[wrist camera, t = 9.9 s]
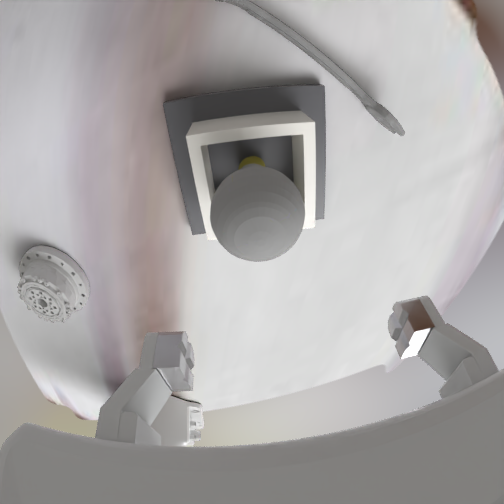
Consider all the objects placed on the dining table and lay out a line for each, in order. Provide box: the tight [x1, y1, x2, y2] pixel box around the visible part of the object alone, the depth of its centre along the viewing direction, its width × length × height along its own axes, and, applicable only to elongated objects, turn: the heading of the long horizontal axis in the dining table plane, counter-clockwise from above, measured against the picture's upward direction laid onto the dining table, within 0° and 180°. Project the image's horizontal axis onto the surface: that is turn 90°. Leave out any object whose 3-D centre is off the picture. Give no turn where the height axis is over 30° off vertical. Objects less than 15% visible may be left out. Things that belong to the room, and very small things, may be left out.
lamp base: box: [163, 84, 326, 241], centre depth 21 cm, size 12×12×5 cm
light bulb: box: [210, 156, 305, 262], centre depth 19 cm, size 6×6×10 cm
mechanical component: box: [17, 245, 90, 323], centre depth 28 cm, size 10×4×10 cm
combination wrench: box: [215, 0, 405, 136], centre depth 17 cm, size 4×1×20 cm
